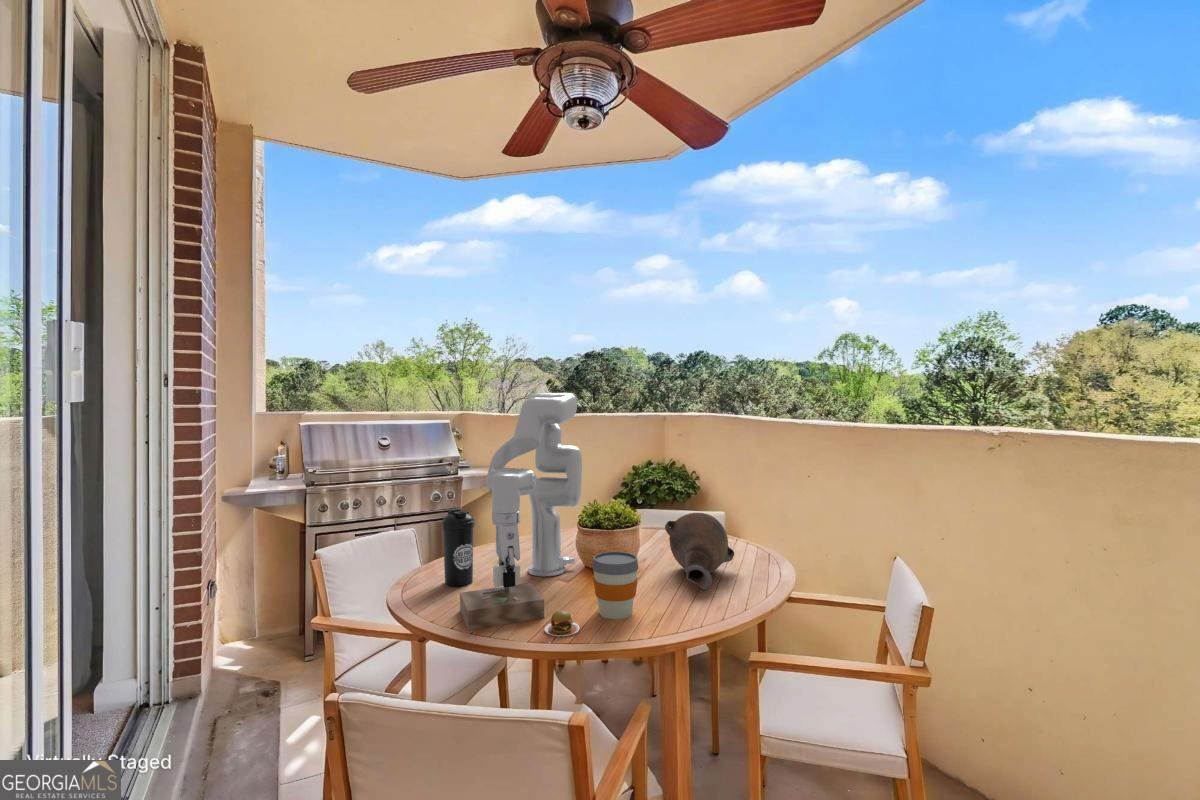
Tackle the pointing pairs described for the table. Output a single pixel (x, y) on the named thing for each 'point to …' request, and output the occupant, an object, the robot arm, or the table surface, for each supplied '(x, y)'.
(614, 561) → the reusable coffee cup
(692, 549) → the jug
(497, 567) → the peg
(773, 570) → the table surface
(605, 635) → the table surface
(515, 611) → the brown slab
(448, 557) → the water bottle
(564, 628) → the hamburger
